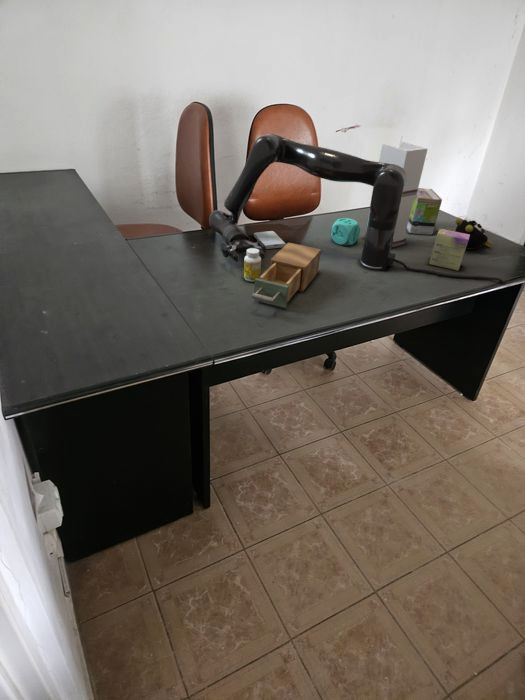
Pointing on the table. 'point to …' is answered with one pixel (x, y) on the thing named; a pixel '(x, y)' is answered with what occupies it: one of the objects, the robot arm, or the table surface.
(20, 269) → the table surface
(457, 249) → the box
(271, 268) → the drawer
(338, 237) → the decorative dice
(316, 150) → the robot arm
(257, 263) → the supplement bottle
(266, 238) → the hard drive
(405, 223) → the tall white carton
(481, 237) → the black yellow plush toy
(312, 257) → the cabinet
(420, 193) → the tea box
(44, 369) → the table surface
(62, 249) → the table surface
